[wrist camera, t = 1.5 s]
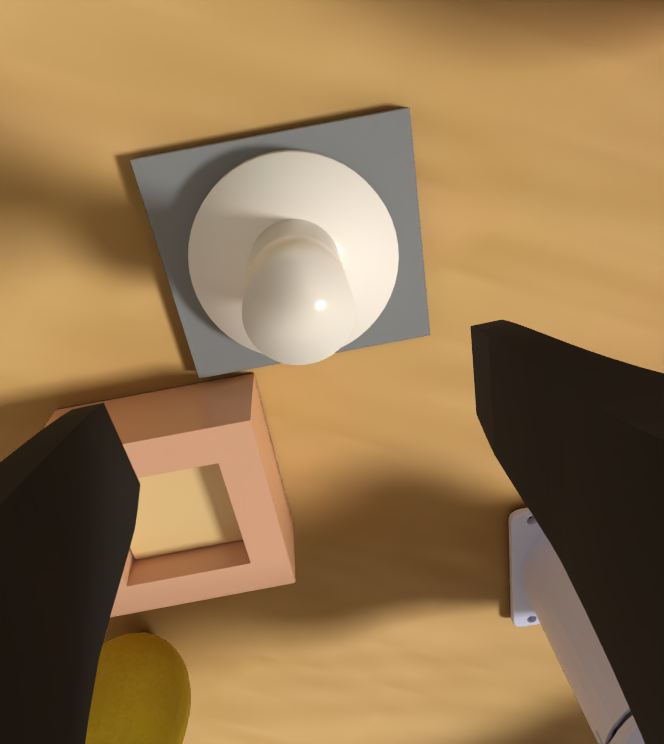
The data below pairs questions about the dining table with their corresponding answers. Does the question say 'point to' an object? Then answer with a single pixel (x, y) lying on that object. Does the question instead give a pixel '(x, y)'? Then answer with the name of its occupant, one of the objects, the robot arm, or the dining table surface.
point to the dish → (244, 475)
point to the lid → (293, 255)
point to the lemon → (139, 693)
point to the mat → (334, 138)
